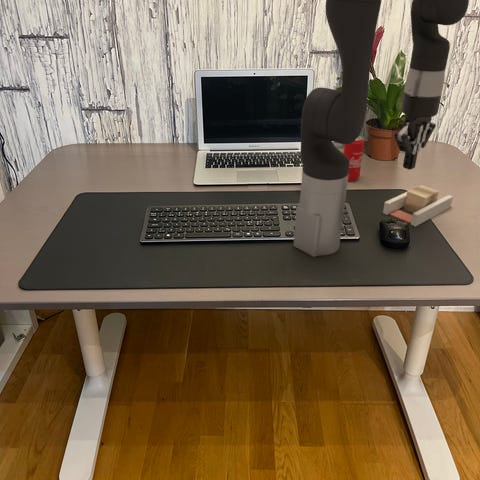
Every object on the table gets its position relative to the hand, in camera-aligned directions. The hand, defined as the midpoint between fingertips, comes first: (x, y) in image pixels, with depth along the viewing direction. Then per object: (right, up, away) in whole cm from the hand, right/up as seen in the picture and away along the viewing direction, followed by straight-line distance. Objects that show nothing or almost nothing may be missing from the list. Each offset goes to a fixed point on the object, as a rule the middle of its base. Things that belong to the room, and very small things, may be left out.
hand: (408, 167), depth 112 cm
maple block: (+7, -9, +12) cm, 16 cm away
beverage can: (-7, +1, +28) cm, 29 cm away
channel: (+6, -9, +11) cm, 15 cm away
